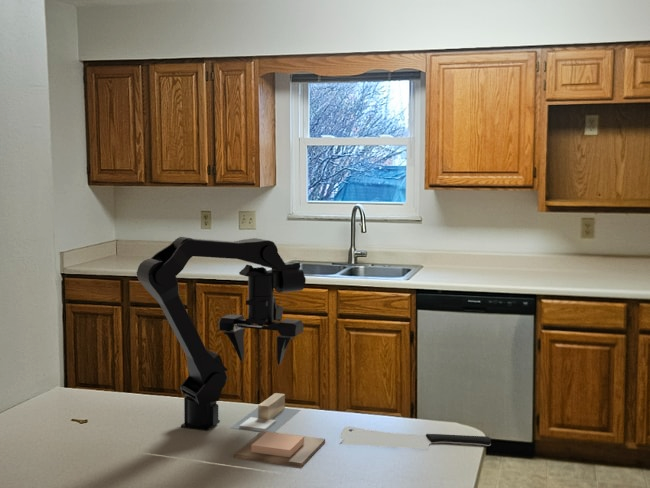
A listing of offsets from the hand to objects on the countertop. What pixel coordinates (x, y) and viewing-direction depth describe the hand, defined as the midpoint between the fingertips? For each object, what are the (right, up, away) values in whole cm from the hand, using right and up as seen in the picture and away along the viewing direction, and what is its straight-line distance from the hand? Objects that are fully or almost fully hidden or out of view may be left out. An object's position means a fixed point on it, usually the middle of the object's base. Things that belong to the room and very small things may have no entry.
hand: (260, 362), depth 178 cm
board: (+6, -14, -22) cm, 27 cm away
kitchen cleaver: (+33, -15, -16) cm, 40 cm away
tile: (+5, -13, -23) cm, 27 cm away
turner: (+2, -12, -3) cm, 13 cm away
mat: (+2, -12, -3) cm, 13 cm away
